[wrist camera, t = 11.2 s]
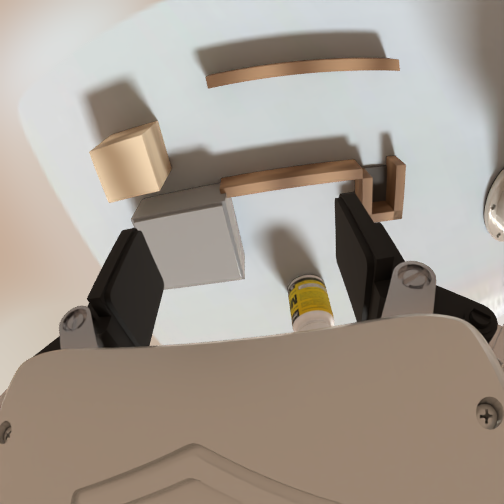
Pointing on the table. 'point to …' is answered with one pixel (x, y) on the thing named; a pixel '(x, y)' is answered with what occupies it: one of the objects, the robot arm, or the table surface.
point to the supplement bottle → (309, 304)
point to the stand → (192, 236)
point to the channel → (366, 179)
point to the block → (132, 162)
